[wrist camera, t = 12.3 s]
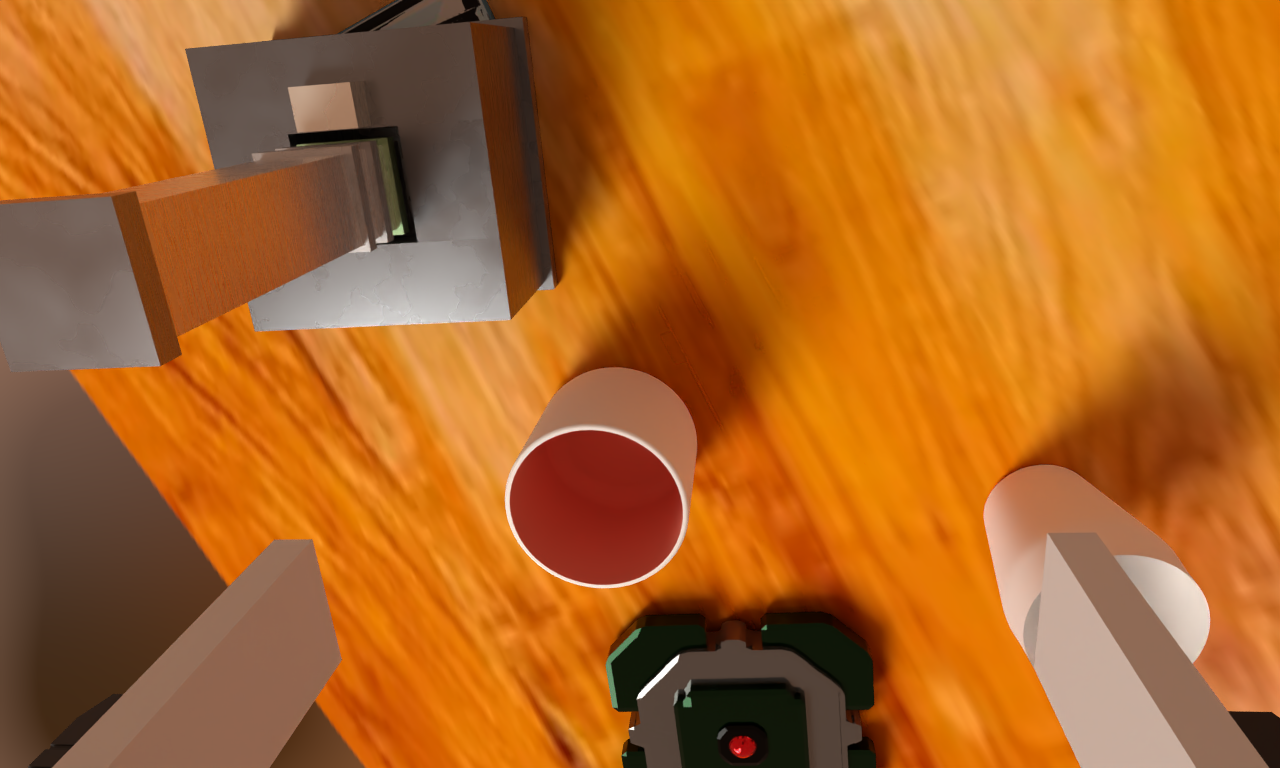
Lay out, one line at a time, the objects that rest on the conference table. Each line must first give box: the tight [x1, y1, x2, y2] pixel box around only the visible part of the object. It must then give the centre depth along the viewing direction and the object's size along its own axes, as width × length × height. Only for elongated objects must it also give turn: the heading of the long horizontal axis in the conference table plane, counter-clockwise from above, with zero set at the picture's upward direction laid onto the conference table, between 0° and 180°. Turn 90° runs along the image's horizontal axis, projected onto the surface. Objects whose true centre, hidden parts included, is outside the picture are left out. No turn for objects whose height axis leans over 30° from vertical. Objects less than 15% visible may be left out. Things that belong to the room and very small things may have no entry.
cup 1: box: [505, 367, 697, 588], centre depth 50 cm, size 10×10×10 cm
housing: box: [185, 17, 558, 331], centre depth 45 cm, size 15×15×10 cm
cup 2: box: [984, 465, 1210, 667], centre depth 48 cm, size 9×9×12 cm
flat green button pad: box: [606, 612, 876, 768], centre depth 60 cm, size 18×18×5 cm
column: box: [0, 137, 412, 372], centre depth 34 cm, size 5×5×21 cm
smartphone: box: [338, 0, 495, 34], centre depth 49 cm, size 7×1×15 cm
